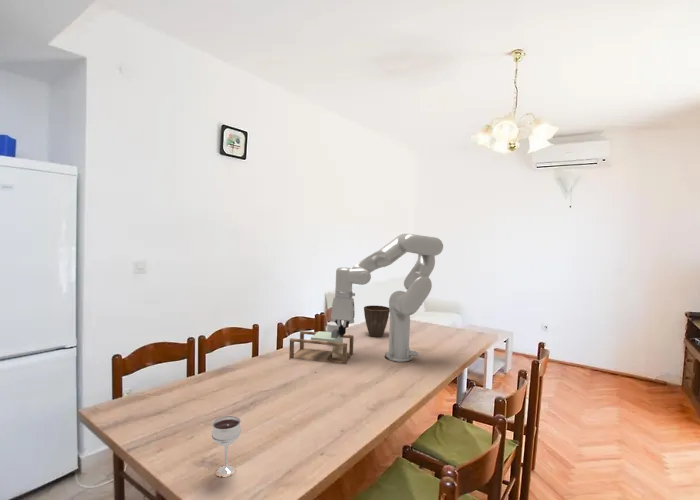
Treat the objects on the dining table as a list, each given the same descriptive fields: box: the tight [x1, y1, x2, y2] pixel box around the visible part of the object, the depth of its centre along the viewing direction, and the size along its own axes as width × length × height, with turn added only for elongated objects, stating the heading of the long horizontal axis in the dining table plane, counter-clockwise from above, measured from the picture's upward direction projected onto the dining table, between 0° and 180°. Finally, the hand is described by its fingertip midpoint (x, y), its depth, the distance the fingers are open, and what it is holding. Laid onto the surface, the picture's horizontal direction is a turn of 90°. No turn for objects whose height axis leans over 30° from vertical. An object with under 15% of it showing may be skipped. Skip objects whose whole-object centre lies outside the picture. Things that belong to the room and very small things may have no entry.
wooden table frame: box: [288, 330, 355, 365], centre depth 174 cm, size 26×15×10 cm, turn 78°
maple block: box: [331, 342, 343, 359], centre depth 172 cm, size 5×5×6 cm
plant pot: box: [363, 304, 390, 338], centre depth 216 cm, size 15×15×16 cm
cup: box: [326, 321, 344, 347], centre depth 193 cm, size 8×8×12 cm
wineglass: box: [211, 415, 242, 474], centre depth 91 cm, size 7×7×12 cm
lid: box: [310, 329, 340, 342], centre depth 173 cm, size 11×11×4 cm
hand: (341, 335), depth 172 cm, fingers closed
